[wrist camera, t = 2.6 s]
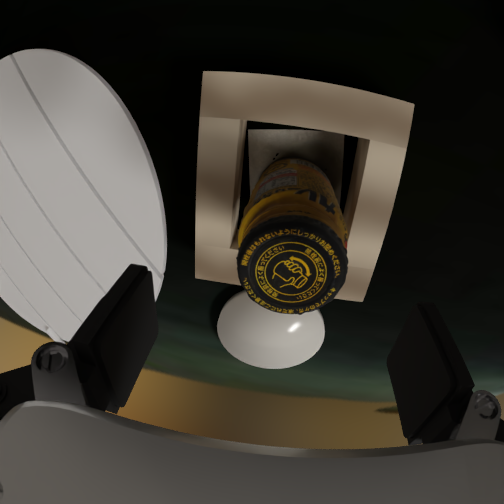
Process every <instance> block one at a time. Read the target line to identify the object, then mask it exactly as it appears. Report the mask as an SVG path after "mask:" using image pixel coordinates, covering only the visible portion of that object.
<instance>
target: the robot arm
mask: <svg viewBox="0 0 504 504" xmlns="http://www.w3.org/2000/svg"><path fill="white" fill-rule="evenodd" d="M157 335H158V321H157V313H156V305H155V296H154V286H153V276H152V272H151V271H148V268H147V266H143V265H137V264H130V265H129V266H128V267H127V269H126V270H125V271H124V272H123V273H122V275H121V276H120V277H119V278H118V280H117V281H116V282H115V283H114V285H113V286H112V287H111V288H110V290H109V291H108V292H107V294H106V295H105V296H104V297H102V298H101V300H100V301H99V302H98V303H97V305H96V306H95V307H94V309H93V310H92V311H91V313H90V314H89V315H88V317H87V318H86V319H85V321H84V322H83V323H82V325H81V326H80V327H79V329H78V330H77V331H76V333H75V334H74V336H73V337H72V338H71V340H70V341H69V343H68V344H67V345H66V344H64V343H62V342H56V341H55V342H49V343H46V344H43V345H42V346H41V347H39V348H38V349H37V350H36V351H35V352H34V354H33V357H32V360H31V364H30V365H27V366H24V367H21V368H17V369H14V370H11V371H7V372H4V373H1V374H0V504H504V421H503V420H502V419H501V418H500V416H501V407H500V404H499V402H498V400H497V399H496V397H495V396H494V395H493V394H491V393H490V392H488V391H485V390H479V391H476V392H474V393H473V391H472V388H473V387H474V386H475V385H474V382H473V380H472V378H471V376H470V373H469V371H468V369H467V367H466V365H465V362H464V360H463V358H462V356H461V354H460V352H459V350H458V348H457V346H456V344H455V342H454V340H453V338H452V336H451V334H450V332H449V330H448V328H447V326H446V324H445V323H444V321H443V319H442V317H441V315H440V313H439V311H438V310H437V308H436V306H435V305H434V303H428V302H419V303H417V305H415V306H413V307H412V309H411V311H410V314H409V316H408V318H407V320H406V322H405V324H404V326H403V328H402V330H401V332H400V334H399V336H398V338H397V340H396V342H395V344H394V346H393V348H392V350H391V352H390V354H389V355H388V358H387V367H388V371H389V375H390V379H391V383H392V387H393V391H394V395H395V399H396V403H397V407H398V412H399V416H400V420H401V425H402V430H403V435H404V437H405V438H407V439H408V445H411V446H402V447H390V448H375V449H343V450H342V449H341V450H340V449H337V450H336V449H333V450H332V449H329V450H328V449H301V448H284V447H273V446H262V445H254V444H246V443H238V442H232V441H225V440H218V439H213V438H207V437H202V436H197V435H192V434H187V433H183V432H178V431H174V430H170V429H166V428H162V427H158V426H154V425H150V424H146V423H142V422H138V421H135V420H131V419H128V418H124V417H121V416H118V415H114V414H111V413H108V412H105V411H106V410H107V411H109V412H112V413H115V414H117V412H118V410H119V407H124V406H125V404H126V402H127V400H128V398H129V396H130V393H131V391H132V389H133V387H134V385H135V382H136V380H137V378H138V376H139V374H140V372H141V369H142V367H143V365H144V363H145V361H146V359H147V357H148V355H149V352H150V350H151V348H152V346H153V344H154V342H155V340H156V338H157ZM421 443H423V444H421ZM417 444H421V445H417Z"/></svg>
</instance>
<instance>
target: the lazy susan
mask: <svg viewBox="0 0 504 504" xmlns="http://www.w3.org/2000/svg"><path fill="white" fill-rule="evenodd" d="M166 254H167V232H166V220H165V212H164V205H163V200H162V195H161V190H160V186H159V182H158V178H157V175H156V171H155V168H154V165H153V162H152V159H151V157H150V154H149V151H148V149H147V146H146V144H145V142H144V139H143V137H142V135H141V133H140V131H139V129H138V127H137V125H136V123H135V121H134V119H133V118H132V116H131V114H130V112H129V111H128V109H127V108H126V106H125V105H124V103H123V102H122V100H121V99H120V98H119V96H118V95H117V93H116V92H115V91H114V90H113V89H112V87H111V86H110V85H109V84H108V83H107V82H106V81H105V80H104V79H103V78H102V77H101V76H100V75H99V74H98V73H97V72H96V71H95V70H93V69H92V68H91V67H89V66H88V65H87V64H85V63H84V62H82V61H80V60H79V59H77V58H75V57H73V56H71V55H68V54H66V53H63V52H60V51H56V50H50V49H28V50H23V51H19V52H16V53H13V55H8V56H6V57H4V58H3V59H1V60H0V297H1V298H2V299H3V300H4V301H5V302H6V303H7V304H8V305H9V306H10V307H11V308H12V309H13V310H14V311H15V312H16V313H18V314H19V315H20V316H21V317H23V318H24V319H25V320H26V321H28V322H29V323H31V324H32V325H34V326H35V327H37V328H38V329H40V330H42V331H44V332H46V333H47V334H48V335H49V336H50V337H51V338H52V339H53V340H54V341H56V342H62V343H64V344H65V342H64V341H63V340H65V341H68V342H69V341H70V340H71V338H72V337H73V336H74V334H75V333H76V331H77V330H78V329H79V327H80V326H81V325H82V323H83V322H84V321H85V319H86V318H87V317H88V315H89V314H90V313H91V311H92V310H93V309H94V307H95V306H96V305H97V303H98V302H99V301H100V300H101V298H102V297H104V296H105V295H106V294H107V292H108V291H109V290H110V288H111V287H112V286H113V285H114V283H115V282H116V281H117V280H118V278H119V277H120V276H121V275H122V273H123V272H124V271H125V270H126V269H127V267H128V266H129V265H130V264H137V265H143V266H147V268H148V271H151V272H152V276H153V286H154V296H155V301H156V299H157V297H158V294H159V292H160V289H161V285H162V282H163V277H164V275H163V273H164V271H165V266H166Z"/></svg>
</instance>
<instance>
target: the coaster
mask: <svg viewBox="0 0 504 504" xmlns="http://www.w3.org/2000/svg"><path fill="white" fill-rule="evenodd" d="M217 332H218V336H219V338H220V341H221V343H222V344H223V346H224V347H225V348H226V350H227V351H228V352H230V353H231V354H232V355H233V356H234V357H236V358H237V359H239V360H241V361H243V362H245V363H247V364H250V365H253V366H256V367H261V368H269V369H279V368H287V367H292V366H295V365H298V364H300V363H303V362H305V361H306V360H308V359H309V358H311V357H312V356H313V355H314V354H315V353H316V352H317V351H318V350H319V348H320V347H321V345H322V343H323V340H324V333H325V331H324V320H323V317H322V314H321V312H320V310H319V309H317V310H315V311H312V312H306V313H303V314H302V315H298V314H282V313H277V312H273V311H270V310H268V309H266V308H264V307H262V306H260V305H258V304H257V303H255V302H254V301H252V300H251V299H250V298H249V297H248V294H247V292H246V291H245V290H243V291H241V292H239V293H237V294H235V295H234V296H232V297H231V298H230V299H229V300H228V301H227V302H226V303H225V305H224V306H223V308H222V310H221V313H220V316H219V319H218V324H217Z"/></svg>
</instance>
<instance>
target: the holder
mask: <svg viewBox="0 0 504 504" xmlns="http://www.w3.org/2000/svg"><path fill="white" fill-rule="evenodd" d="M413 110H414V104H412V103H408V102H405V101H402V100H398V99H395V98H391V97H387V96H384V95H380V94H376V93H372V92H368V91H363V90H359V89H355V88H350V87H345V86H340V85H335V84H330V83H324V82H319V81H313V80H306V79H299V78H292V77H284V76H276V75H266V74H255V73H241V72H221V71H203V80H202V92H201V106H200V121H199V138H198V158H197V183H196V226H195V278H199V279H205V280H211V281H217V282H223V283H230V284H236V285H241V284H240V281H239V278H238V272H237V259H236V257H237V254H238V248H239V245H238V231H239V230H238V229H237V227H238V215H239V203H240V192H241V180H242V169H243V158H244V147H245V136H246V125H247V120H251V121H260V122H269V123H277V124H285V125H292V126H299V127H306V128H312V129H318V130H324V131H329V132H335V133H340V134H345V135H350V136H355V137H359V138H358V144H357V149H356V155H355V160H354V165H353V171H352V176H351V181H350V186H349V190H348V195H347V200H346V204H345V209H344V214H343V218H344V221H345V223H346V227H347V232H348V240H347V257H348V261H349V263H348V265H347V266H348V272H347V275H346V280H345V283H344V285H343V286H342V288H341V289H340V291H339V292H338V294H337V295H336V296H335V297H334V298H335V299H343V300H351V301H360V302H363V299H364V296H365V294H366V291H367V288H368V285H369V282H370V280H371V277H372V274H373V271H374V268H375V265H376V262H377V259H378V256H379V252H380V249H381V246H382V243H383V239H384V236H385V233H386V229H387V226H388V222H389V219H390V215H391V212H392V208H393V204H394V200H395V197H396V193H397V189H398V185H399V180H400V176H401V172H402V167H403V163H404V158H405V154H406V149H407V144H408V139H409V133H410V128H411V122H412V116H413Z"/></svg>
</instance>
